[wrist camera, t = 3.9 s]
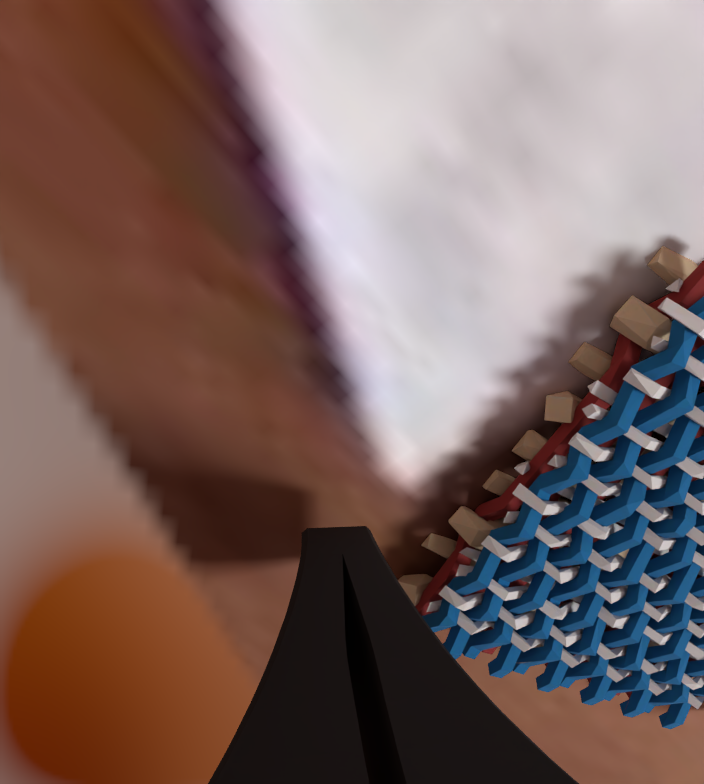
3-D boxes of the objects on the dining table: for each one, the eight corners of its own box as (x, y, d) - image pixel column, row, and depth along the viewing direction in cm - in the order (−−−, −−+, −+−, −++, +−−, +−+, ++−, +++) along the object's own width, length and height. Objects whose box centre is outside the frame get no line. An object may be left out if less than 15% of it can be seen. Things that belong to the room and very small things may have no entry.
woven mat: (935, 421, 14) (1032, 469, 12) (644, 676, 18) (686, 740, 16) (663, 210, 10) (743, 233, 9) (371, 582, 14) (385, 652, 12)
